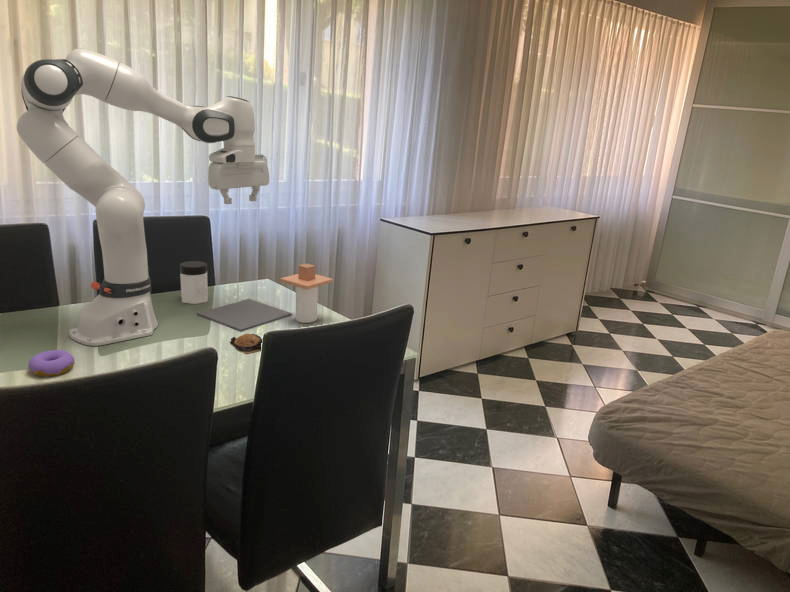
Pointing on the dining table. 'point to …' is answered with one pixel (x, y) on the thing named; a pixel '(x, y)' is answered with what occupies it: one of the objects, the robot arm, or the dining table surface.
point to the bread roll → (247, 343)
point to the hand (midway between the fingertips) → (240, 202)
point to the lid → (306, 278)
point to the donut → (51, 363)
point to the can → (306, 305)
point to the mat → (244, 314)
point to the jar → (194, 282)
